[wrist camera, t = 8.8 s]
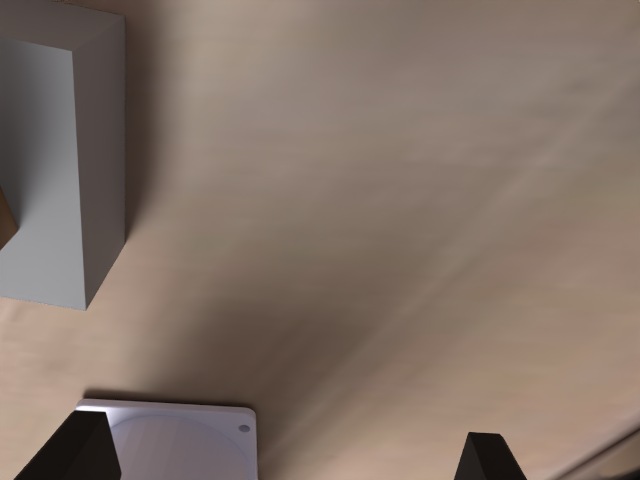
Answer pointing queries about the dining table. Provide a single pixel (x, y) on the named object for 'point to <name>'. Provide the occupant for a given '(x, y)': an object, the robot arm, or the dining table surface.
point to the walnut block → (6, 221)
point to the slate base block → (61, 149)
